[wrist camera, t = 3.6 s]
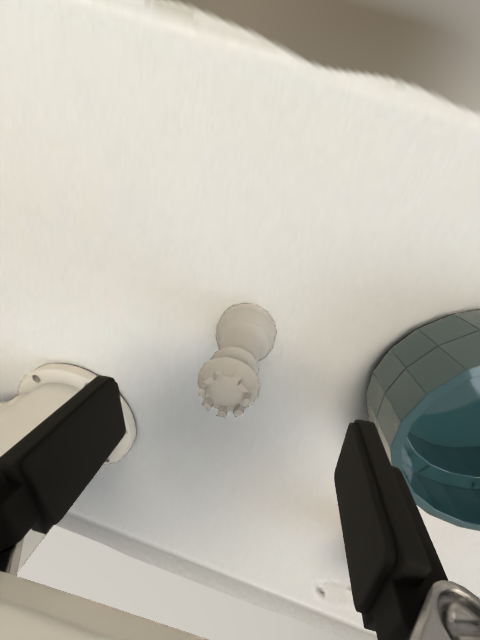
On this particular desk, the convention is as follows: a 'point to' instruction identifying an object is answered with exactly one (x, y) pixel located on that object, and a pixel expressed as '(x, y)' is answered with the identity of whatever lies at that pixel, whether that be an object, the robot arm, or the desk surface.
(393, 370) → the bowl
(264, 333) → the rook chess piece
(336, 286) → the desk surface
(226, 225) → the desk surface
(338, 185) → the desk surface
